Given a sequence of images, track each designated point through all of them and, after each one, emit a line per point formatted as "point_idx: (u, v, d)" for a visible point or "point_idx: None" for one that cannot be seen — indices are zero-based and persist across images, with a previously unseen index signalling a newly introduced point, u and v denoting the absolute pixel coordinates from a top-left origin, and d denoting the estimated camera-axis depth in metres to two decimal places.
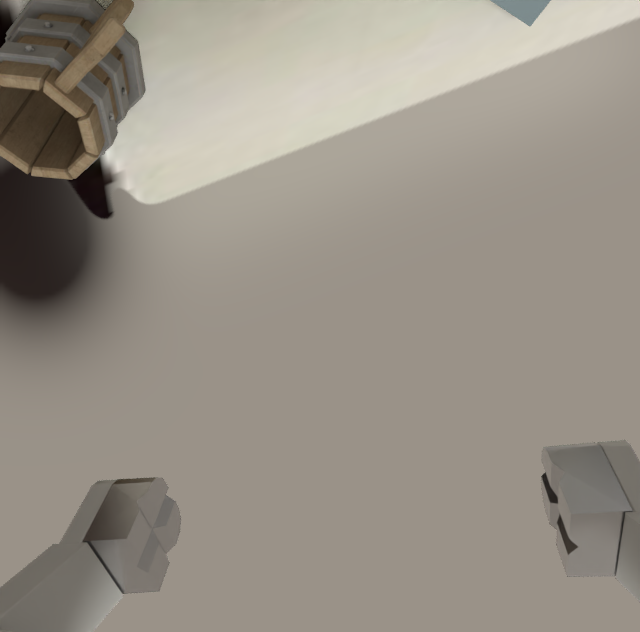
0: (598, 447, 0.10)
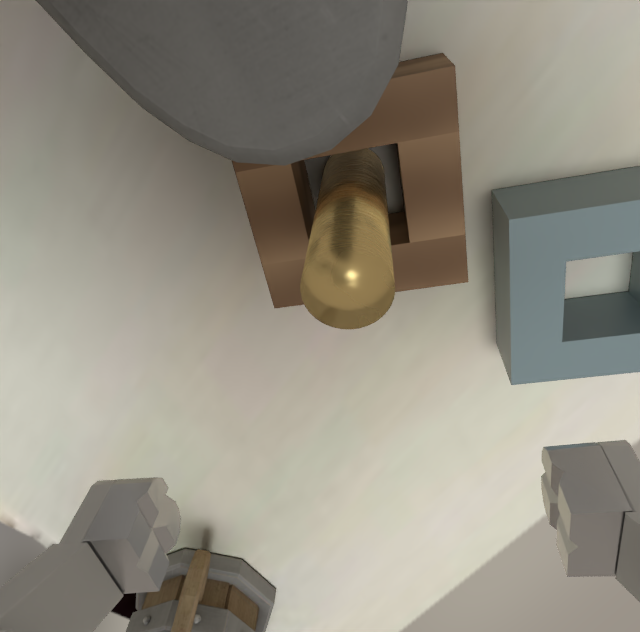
0: (598, 447, 0.10)
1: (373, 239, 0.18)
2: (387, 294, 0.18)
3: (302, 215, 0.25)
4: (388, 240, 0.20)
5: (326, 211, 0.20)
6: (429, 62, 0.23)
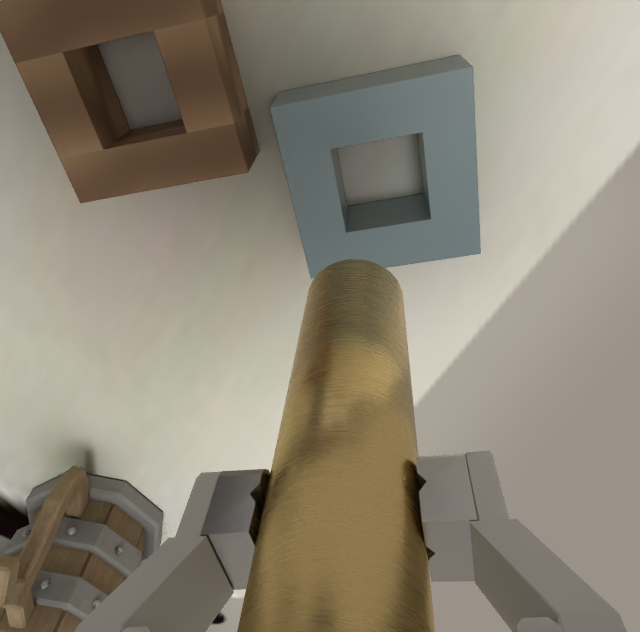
0: (462, 457, 0.10)
1: (392, 601, 0.08)
2: None
3: (85, 106, 0.27)
4: (422, 547, 0.09)
5: (296, 460, 0.10)
6: None
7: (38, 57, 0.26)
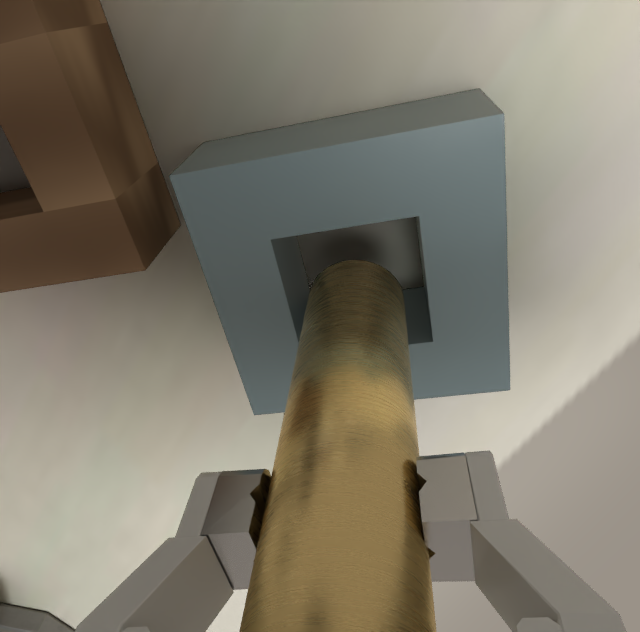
0: (462, 458, 0.10)
1: (394, 603, 0.08)
2: None
3: None
4: (424, 549, 0.09)
5: (297, 461, 0.10)
6: None
7: None
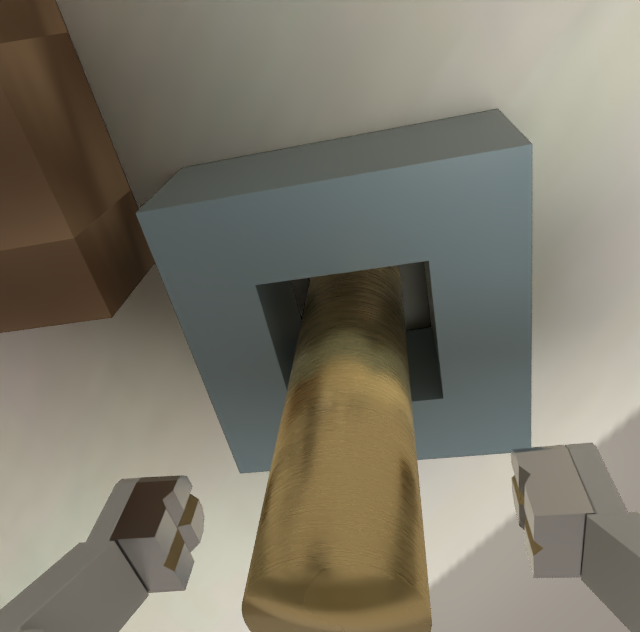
0: (564, 449, 0.10)
1: (388, 516, 0.09)
2: (415, 631, 0.09)
3: None
4: (414, 480, 0.11)
5: (303, 408, 0.12)
6: None
7: None
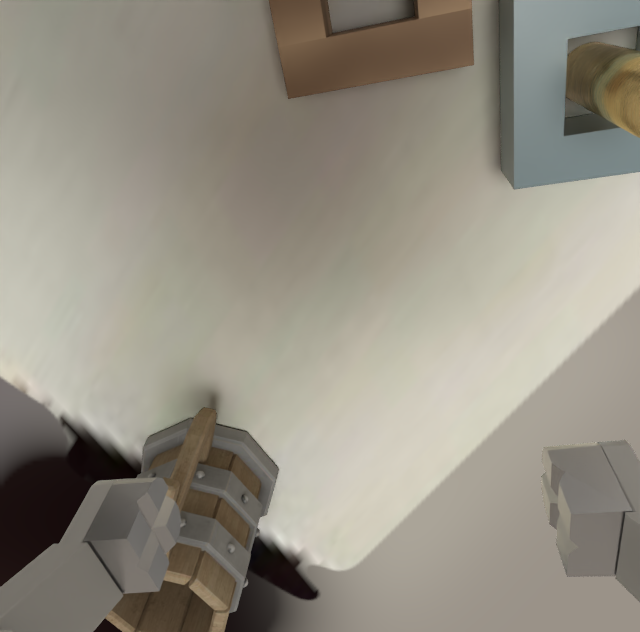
0: (597, 447, 0.10)
1: None
2: None
3: None
4: None
5: (635, 63, 0.23)
6: None
7: None
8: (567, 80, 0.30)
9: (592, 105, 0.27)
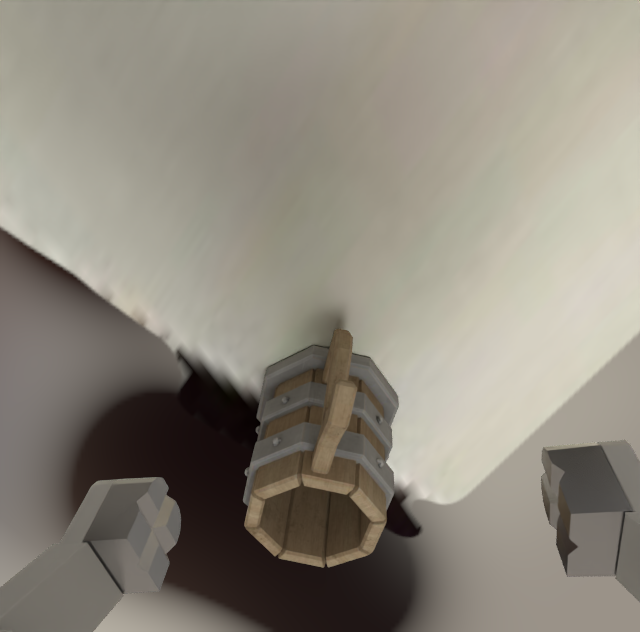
0: (597, 447, 0.10)
1: None
2: None
3: None
4: None
5: None
6: None
7: None
8: None
9: None
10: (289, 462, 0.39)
